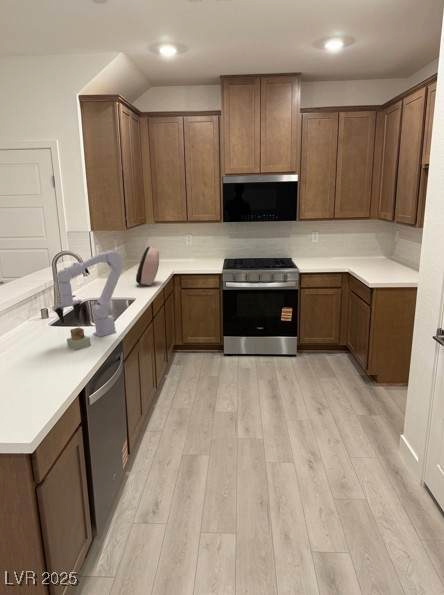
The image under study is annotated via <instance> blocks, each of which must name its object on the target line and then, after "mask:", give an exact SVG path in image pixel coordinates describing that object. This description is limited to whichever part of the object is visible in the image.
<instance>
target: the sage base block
mask: <svg viewBox="0 0 444 595" xmlns="http://www.w3.org/2000/svg"><path fill="white" fill-rule="evenodd" d="M84 337H85V338H83V339H79V340H74V339H72V338H71V337H69V338H66V344H67V347H68V348H70V349H71V350H74V351H78V350H81V349H84V348H88V347H90V346H92V342H91V337H89V336H87V335H85V334H84Z"/></svg>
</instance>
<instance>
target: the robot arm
mask: <svg viewBox="0 0 444 595" xmlns="http://www.w3.org/2000/svg"><path fill="white" fill-rule="evenodd" d="M99 263H103V264H104V263H106V264H107V265H108V266H109V269H110V272H109V274H108V277H107V280H106V282H105V284H104V287H103V289H102V291H101V294H100V296H99V298H98V299H97V301H96V303H95V304H94V305H93V306H92V308H91V309H92V312H93V314H94V317H93V320H94V325H95V326H94V328H95V332H93V333H92V334H93V335H95V336H97V337H100V338H101V337H105V336H108V335H110V334H115V333H117V331H116V325H115V319H114V317H113V316H112V315H111V314H109V313H110V312H109V311H110V310H109V309H110V301H111V300H112V299H111V298H112V296H113V294H114V291H115V289H116V286H117V284H118V282H119V279H120V277H121V273H122V271H123V266H122V258H121V256H120V254H119V253H118V252H117V251H113V250H110V249H106V250H104V251H101V252H99V253H98V254H95V255H94V256H92V257H90V258H88V259H87V260H85V261H83V262H73V263H72V264H71V265H70V266H68V267H64V268H63V269H60V270H58V271H57V273H56V276H55V277H56V279H57V282H58V283H57V284H58V290H59V291H58V292H59V298H60V303H58V304H54V305H52V306H51V308H52V310H53V311H54V312H55V313H56V315H57V317H58V318H59V320H60V322H61V323H62V324H64V323H65V318H64V310H63V308H69V307H73V311H74V312H73V313H74V318H75V319H76V320H79V318H80V312H81V309H82V304H83V300H82V299H75V300H74V298H73V292H72V285H71V279H74V278H76V277H77V276H80V275H81V274H84V273H85V270H86V269H88V268H90V267H92V266H95V265H97V264H99Z"/></svg>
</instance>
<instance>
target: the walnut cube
mask: <svg viewBox="0 0 444 595" xmlns="http://www.w3.org/2000/svg"><path fill="white" fill-rule="evenodd" d="M84 335H85V331H84V328H82V327H76V328H72V329H70V336H71V337H70V338H72V339H74V340H79V339H83V338H85V337H84Z"/></svg>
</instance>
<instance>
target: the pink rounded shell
mask: <svg viewBox="0 0 444 595" xmlns="http://www.w3.org/2000/svg"><path fill="white" fill-rule="evenodd" d="M159 266H160V252H159V249H158V248H157V247H154V246H148V247H146V248H145V250H144V252H143V254H142V256H141V259H140V262H139V265H138V268H137V271H136V272H137V273H136V276H135V282H136V283H137V284H138V285H144V286H152V285H153V284H154V282H155V279H156V276H157V274H158V271H159V268H160V267H159Z"/></svg>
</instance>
